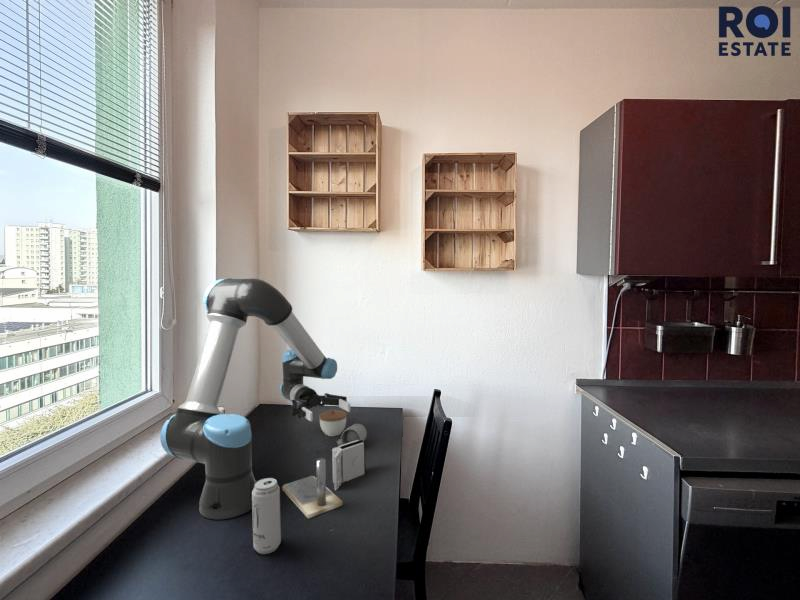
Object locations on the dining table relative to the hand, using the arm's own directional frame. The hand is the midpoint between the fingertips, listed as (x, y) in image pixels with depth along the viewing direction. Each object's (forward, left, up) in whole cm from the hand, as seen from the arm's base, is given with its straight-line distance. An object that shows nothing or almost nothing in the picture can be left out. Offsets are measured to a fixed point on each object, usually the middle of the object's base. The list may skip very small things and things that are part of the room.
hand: (331, 412), depth 131 cm
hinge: (0, -11, -18) cm, 21 cm away
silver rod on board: (-13, -13, -17) cm, 25 cm away
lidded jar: (+14, +25, -18) cm, 34 cm away
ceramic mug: (+13, +11, -18) cm, 25 cm away
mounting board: (-13, -13, -18) cm, 26 cm away
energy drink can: (-30, -27, -18) cm, 44 cm away
